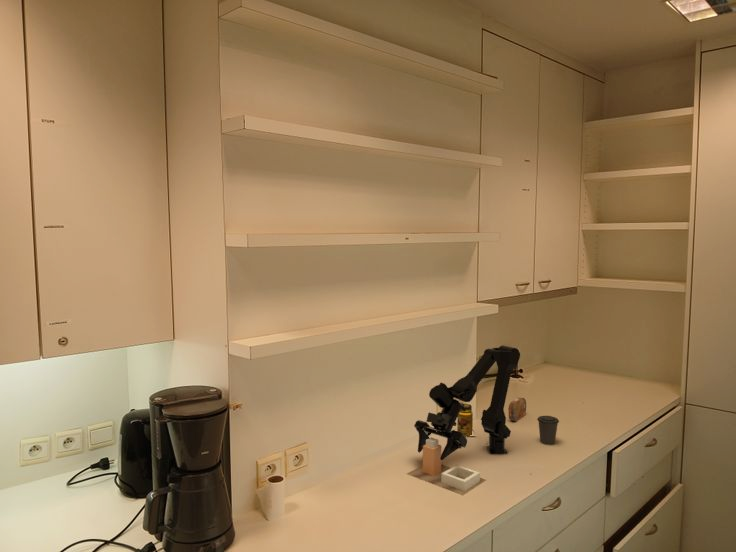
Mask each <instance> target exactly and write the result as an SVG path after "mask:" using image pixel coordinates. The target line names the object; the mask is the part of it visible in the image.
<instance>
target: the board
mask: <svg viewBox="0 0 736 552" xmlns="http://www.w3.org/2000/svg"><path fill="white" fill-rule="evenodd" d="M450 468H452V467H450V466H447V465H445V464H442V463H441V472H439V473H438V474H436V475H434V476H432V475H430V474H427V473H424V472H423V464H422V465H421V466H419V467H417V468H415V469H413V470H411V471H409V472H407V473H406V475H408V476H411V477H413V478H417V479H419V480H422V481H424V482H426V483H429V484H432V485H435V486H437V487H439V488H442V489H445V490H447V491H450V492H453V493H455V494H458V495H461V496H464V495H466V494H468V493H469V492H470V491H472V490H474V489H475V488H477V487H478V486H480V485H481V484H483V483H484V482H486V481H487V479H485V478H482V477H480V482H479V483H477V484H476V485H474V486H472V487H471V488H469V489H468V490H466V491H463V490H460V489H457V488H455V487H452V486H449V485H447V484H444V483H441V475H442V473H443V472H445V471H447V470H449V469H450ZM457 477H458V478H461V479H465V478H462V477H460V476H457Z"/></svg>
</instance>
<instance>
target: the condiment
mask: <svg viewBox="0 0 736 552" xmlns="http://www.w3.org/2000/svg"><path fill="white" fill-rule="evenodd" d="M463 404H464V407H465V411H460V412H459V415H458V417H457V419H456V423H457V424H456V427H457V431H458V432H462V434H463V435H464V436H470V435H472V431H473V430H474V429H473V424H474V423H473V420H474V419H473V418H474V417H473V415H474V414H473V410H472V405H471V404H469V403H463ZM473 432H474V431H473Z"/></svg>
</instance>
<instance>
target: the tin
mask: <svg viewBox="0 0 736 552" xmlns="http://www.w3.org/2000/svg"><path fill="white" fill-rule="evenodd" d="M507 410H508V419H509V420H510V421H513V422H518V421H520V420H521V419H522V418H523V417H525V415H526V412H527V400H526V399H525V398H524V397H516V398H515V399H514V400H512V401H510V403H509V405H508V409H507Z"/></svg>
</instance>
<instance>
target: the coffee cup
mask: <svg viewBox="0 0 736 552" xmlns="http://www.w3.org/2000/svg"><path fill="white" fill-rule="evenodd" d="M537 417H538V418H537V419H536V420H537V422H538V429H539V440H540V441H539V442H540V443H541V444H543V445H546V446H553V445H555V444H556V437H557V431H558V424H559V423H560V420H559V419H558V418H557V417H554V416H552V415H539V416H537Z"/></svg>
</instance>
